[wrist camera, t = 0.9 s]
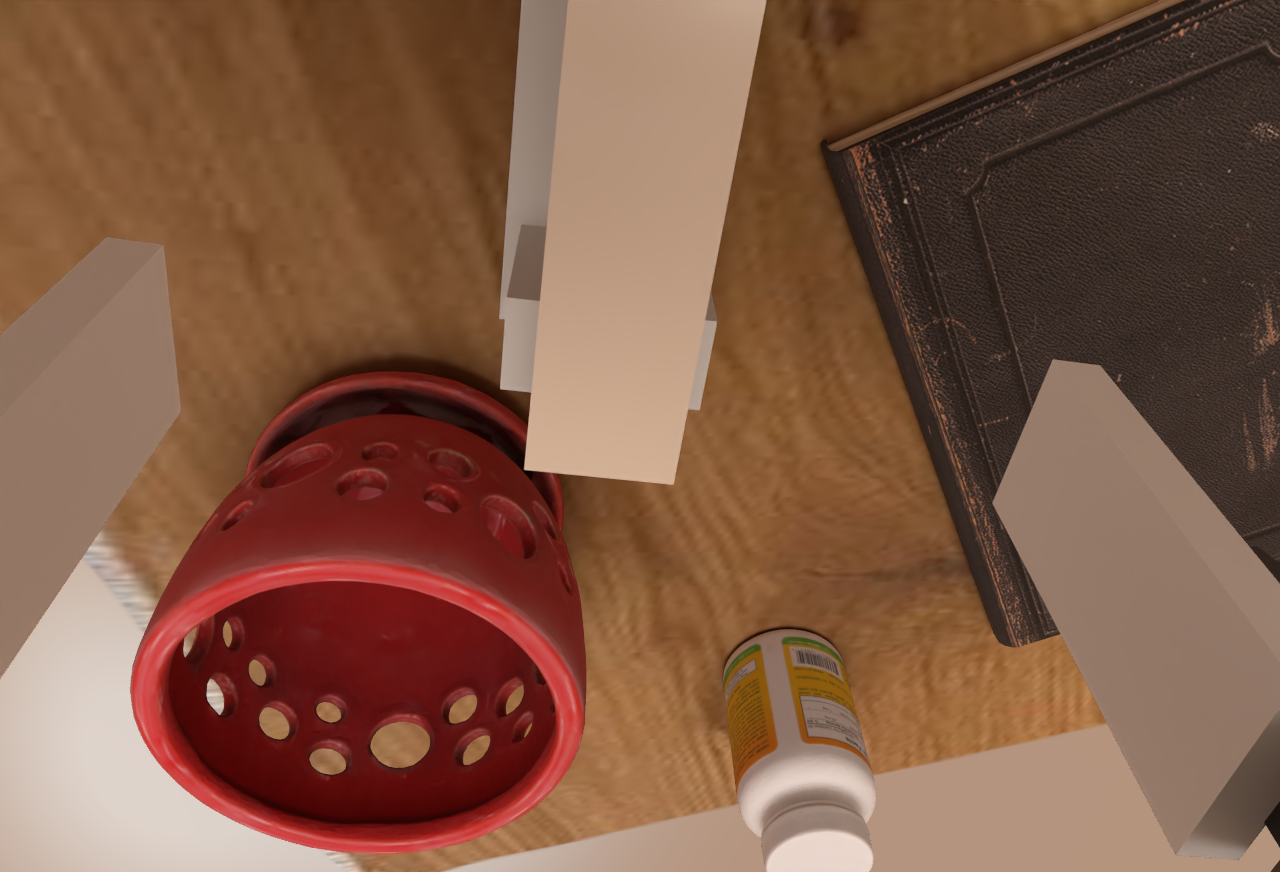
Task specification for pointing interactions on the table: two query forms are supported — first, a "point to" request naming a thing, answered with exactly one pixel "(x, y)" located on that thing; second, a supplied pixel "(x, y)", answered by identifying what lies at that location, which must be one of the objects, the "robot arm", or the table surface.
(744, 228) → the table surface
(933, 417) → the hardcover book
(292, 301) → the table surface
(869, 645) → the table surface
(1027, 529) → the robot arm
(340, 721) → the plant pot
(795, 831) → the supplement bottle
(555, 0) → the stand
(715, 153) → the beige rectangular bar
